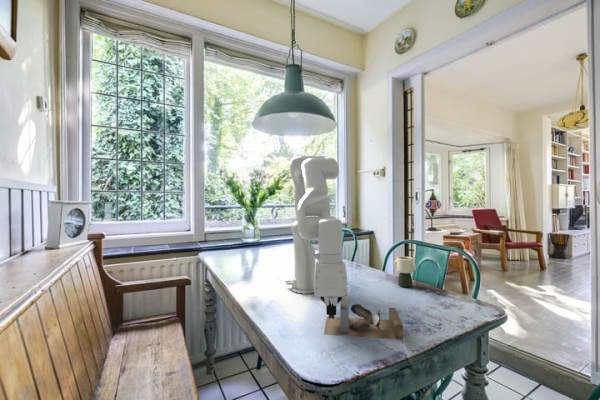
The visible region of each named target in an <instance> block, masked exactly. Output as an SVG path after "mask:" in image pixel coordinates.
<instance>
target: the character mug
mask: <svg viewBox="0 0 600 400" xmlns="http://www.w3.org/2000/svg"><path fill="white" fill-rule="evenodd" d="M394 267H396V271H397V272H398V273H399V274H398V280H397V284H398V286H400V287H412V286H413V278H412V277H413V276H412V273H413V272H416V270H417V264H416V263H414V258H413V257H411V256H398V257H396V259H395V260H394Z"/></svg>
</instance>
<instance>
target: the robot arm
mask: <svg viewBox="0 0 600 400" xmlns="http://www.w3.org/2000/svg"><path fill="white" fill-rule="evenodd" d="M339 169H340V167H339V164H338V162H337V160H336V159H335V158H334V157H330V156H327V155H297V156H293V157H292V158H290V160H289V173H290V177H291V179H292V181H293V185H294V211H295V215H296V220H295V221H294V222H292V226H291V233H292V239H293V251H294V253H293V254H294V278H292V279H285V284H286V285H288V286H291V291H292V290H293V291H292V292H294V293H296V292H297V294H301V293H302V294H307V295H308V294H313V298H315V299H318V300H321V301H322V302H323V303H324V304H325V306H326V309H325V311H326V315H327V316H328V317H329V319H330V318H331V317H332V319H334V317H335V316H337V305H338V304H339V303H341V300H345V299H348V298H350V296H349V293H348V290H349V289H348V288H349V287H348V286H349V285H348V271H347V267H346V262H345V261H343V257H344V255H343V222H342V220H341V219H340V218H337V217H335V216H331V203H330V199H329V197H328V194H329V188H328V184H327V180H335V179H337V178H338V176H339V173H340V171H339ZM310 241H317V243H318V245H317V247H318V249H317V253H316V249H315V247H314V245H313V244H312V243H311V242H310ZM316 260H317V261H316ZM302 294H301V295H302ZM330 298H333V300H332V302H331V300H330Z"/></svg>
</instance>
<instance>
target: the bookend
mask: <svg viewBox="0 0 600 400" xmlns="http://www.w3.org/2000/svg"><path fill="white" fill-rule="evenodd" d="M349 298H350V297H349ZM349 298H348V299H345V300H341V301H340V307H339V308H340V309H339V311H340V312H339V314H340V316H339V317H340V322H341V333H342V334H349V318H350V315H349V314H350V311H349V310H350V309H349V308H350V307H349Z"/></svg>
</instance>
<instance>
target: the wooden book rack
mask: <svg viewBox="0 0 600 400" xmlns="http://www.w3.org/2000/svg"><path fill="white" fill-rule="evenodd" d="M363 320H365V318H361V317H358V318H356V317H349V326H351V325H352V324H355V323H356V322H359V321H363ZM380 323H381V324H379V329H378V328H377V326H376V325H373V324H371V325H370V326H369V327H368V328H361V329H358V330H353V329H350V328H349V334H342V333H341V322H340V316H338V317H337V316H334V319H332V316H331V318H330V319H329V316H326V321H325V326H324V332H323V335H329V336H331V335H332V336H342V337H344V336H345V337H358V338H374V339H375V338H376V339H389V340H401V343H402V344H404V324H403V322H402V320H401V317H400V315H399V313H398V310H397V308H396V307H389V308H388V319H380Z"/></svg>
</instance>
